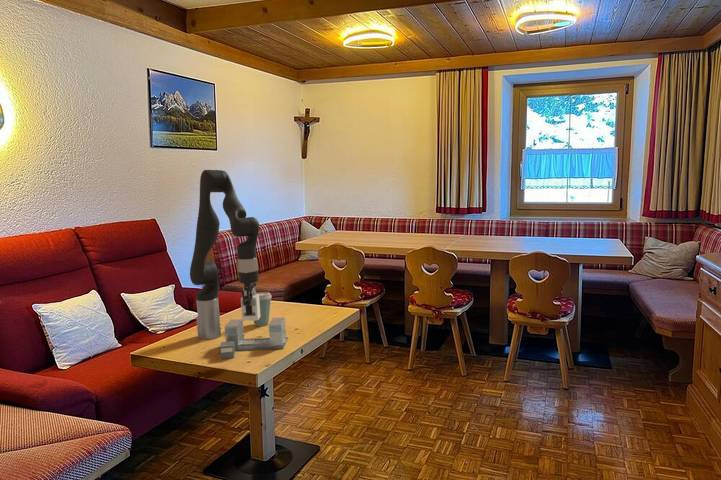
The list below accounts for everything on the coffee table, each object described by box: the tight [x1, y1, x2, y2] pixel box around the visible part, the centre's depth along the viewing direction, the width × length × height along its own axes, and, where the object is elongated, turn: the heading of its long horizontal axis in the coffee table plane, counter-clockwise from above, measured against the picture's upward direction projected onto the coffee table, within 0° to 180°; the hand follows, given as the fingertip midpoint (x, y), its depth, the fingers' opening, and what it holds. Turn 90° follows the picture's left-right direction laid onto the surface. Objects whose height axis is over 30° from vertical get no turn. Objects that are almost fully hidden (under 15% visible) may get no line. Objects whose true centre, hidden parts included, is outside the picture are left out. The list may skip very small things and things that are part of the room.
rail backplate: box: [224, 317, 289, 352], centre depth 224 cm, size 24×12×10 cm, turn 89°
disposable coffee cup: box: [253, 292, 273, 327], centre depth 254 cm, size 11×11×15 cm
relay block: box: [219, 341, 236, 360], centre depth 212 cm, size 5×6×5 cm
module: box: [240, 294, 260, 322], centre depth 208 cm, size 6×5×9 cm
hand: (250, 312), depth 208 cm, fingers closed on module, 5 cm apart
